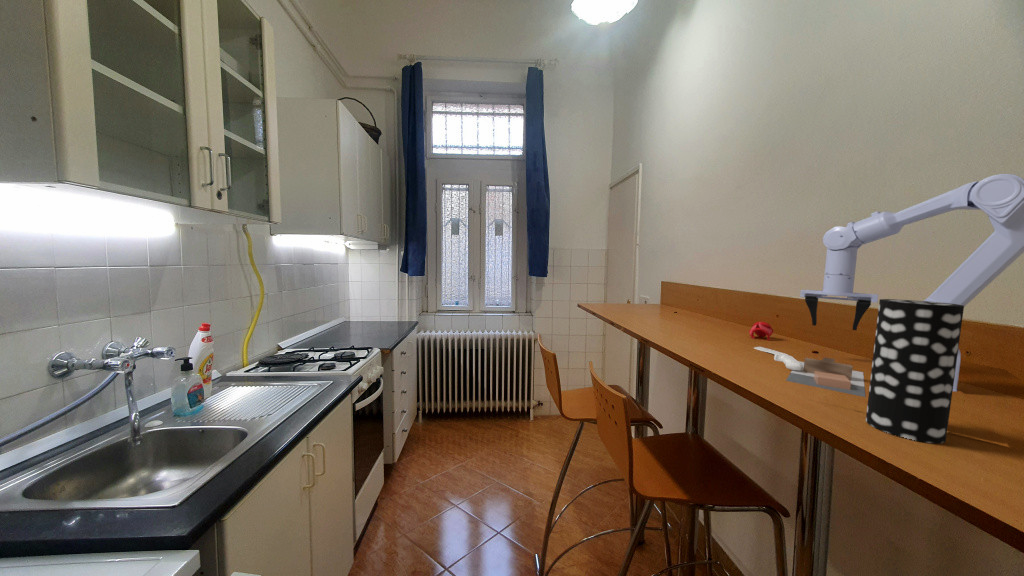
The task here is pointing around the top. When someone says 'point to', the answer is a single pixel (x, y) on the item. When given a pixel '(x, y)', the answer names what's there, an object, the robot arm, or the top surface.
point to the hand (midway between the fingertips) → (833, 327)
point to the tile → (832, 380)
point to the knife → (783, 358)
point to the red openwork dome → (761, 330)
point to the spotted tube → (914, 368)
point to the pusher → (827, 367)
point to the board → (808, 379)
